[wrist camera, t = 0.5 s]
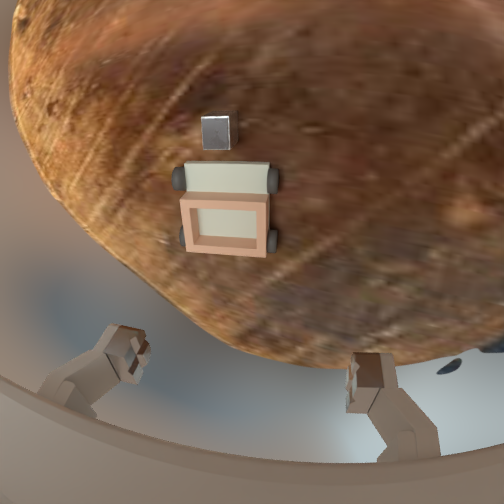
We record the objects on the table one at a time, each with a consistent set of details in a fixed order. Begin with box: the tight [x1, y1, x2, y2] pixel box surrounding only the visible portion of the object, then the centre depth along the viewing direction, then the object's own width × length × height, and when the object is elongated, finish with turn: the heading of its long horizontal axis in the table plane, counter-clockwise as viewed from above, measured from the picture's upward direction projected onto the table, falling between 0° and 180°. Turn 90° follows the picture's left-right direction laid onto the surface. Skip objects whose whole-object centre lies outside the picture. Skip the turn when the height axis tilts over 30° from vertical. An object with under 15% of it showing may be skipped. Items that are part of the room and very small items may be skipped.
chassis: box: [172, 161, 279, 258], centre depth 53 cm, size 16×17×5 cm
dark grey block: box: [201, 111, 239, 150], centre depth 45 cm, size 5×4×6 cm
